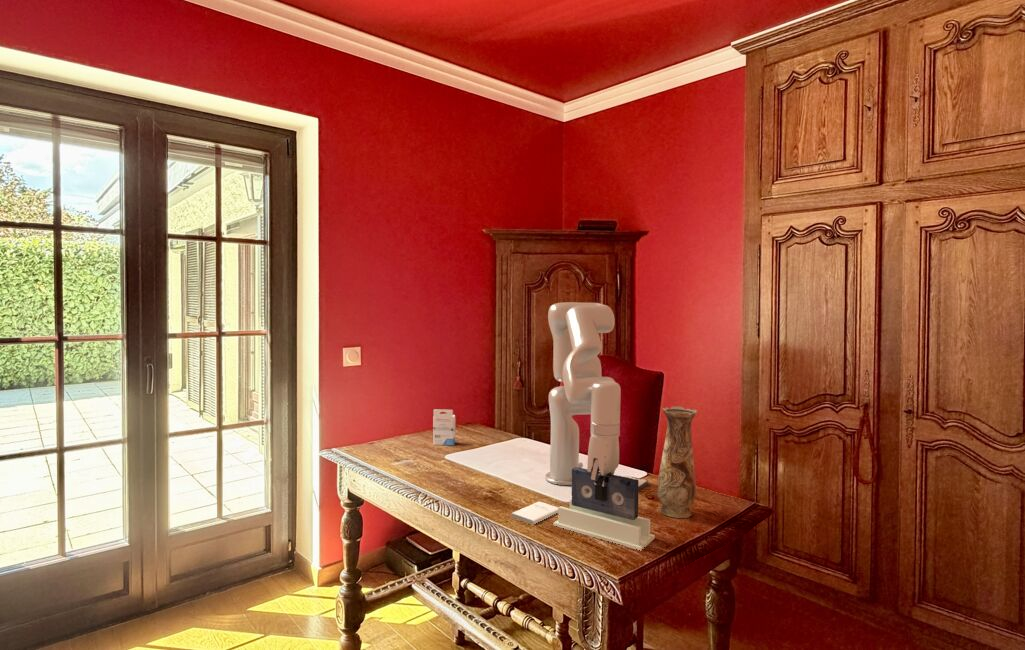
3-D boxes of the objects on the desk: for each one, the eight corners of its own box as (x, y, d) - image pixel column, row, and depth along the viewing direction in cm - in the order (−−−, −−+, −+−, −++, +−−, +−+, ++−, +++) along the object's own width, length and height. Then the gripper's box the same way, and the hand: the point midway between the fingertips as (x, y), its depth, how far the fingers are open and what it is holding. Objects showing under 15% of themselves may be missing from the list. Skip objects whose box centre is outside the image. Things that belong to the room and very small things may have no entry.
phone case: (627, 499, 174) (649, 485, 187) (627, 494, 174) (649, 480, 187) (602, 493, 180) (625, 479, 192) (602, 488, 179) (625, 474, 192)
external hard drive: (510, 518, 158) (538, 505, 168) (533, 526, 153) (560, 513, 162) (510, 512, 158) (538, 500, 167) (533, 520, 153) (560, 507, 162)
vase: (650, 512, 163) (653, 409, 161) (668, 502, 170) (671, 404, 169) (684, 522, 156) (687, 415, 154) (701, 511, 163) (704, 409, 162)
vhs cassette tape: (638, 517, 144) (639, 479, 143) (633, 521, 142) (634, 482, 141) (576, 501, 155) (576, 466, 154) (570, 505, 153) (570, 468, 152)
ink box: (455, 442, 235) (455, 407, 234) (453, 445, 230) (453, 410, 229) (435, 441, 236) (435, 406, 235) (432, 444, 231) (432, 409, 230)
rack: (569, 515, 160) (570, 497, 159) (654, 538, 145) (655, 519, 145) (553, 525, 152) (553, 507, 152) (641, 551, 138) (641, 531, 138)
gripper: (605, 421, 156) (604, 487, 157) (577, 432, 143) (576, 504, 144) (631, 425, 152) (629, 492, 153) (604, 437, 138) (603, 510, 139)
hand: (603, 497), depth 148 cm, fingers closed on vhs cassette tape, 2 cm apart
